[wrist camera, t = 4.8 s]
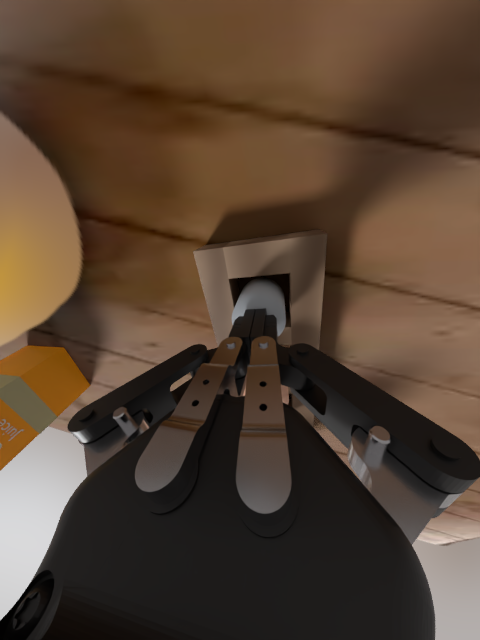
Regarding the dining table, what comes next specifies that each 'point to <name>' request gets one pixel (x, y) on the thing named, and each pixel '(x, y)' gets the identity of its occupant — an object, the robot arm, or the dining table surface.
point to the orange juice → (34, 394)
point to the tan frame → (268, 259)
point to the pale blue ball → (262, 300)
